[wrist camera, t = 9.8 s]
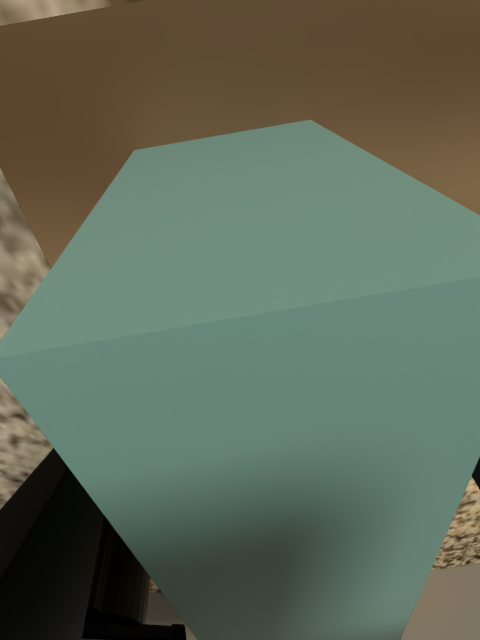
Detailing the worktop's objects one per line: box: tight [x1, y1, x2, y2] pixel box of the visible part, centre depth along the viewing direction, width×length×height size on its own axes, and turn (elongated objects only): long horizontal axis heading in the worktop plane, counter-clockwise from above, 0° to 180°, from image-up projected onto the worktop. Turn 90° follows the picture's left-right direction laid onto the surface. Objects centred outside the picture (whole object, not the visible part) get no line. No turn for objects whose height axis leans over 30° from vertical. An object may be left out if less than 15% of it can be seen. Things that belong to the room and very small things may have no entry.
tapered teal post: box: [0, 120, 480, 640], centre depth 9 cm, size 12×4×7 cm, turn 8°
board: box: [0, 0, 480, 268], centre depth 13 cm, size 17×18×3 cm
